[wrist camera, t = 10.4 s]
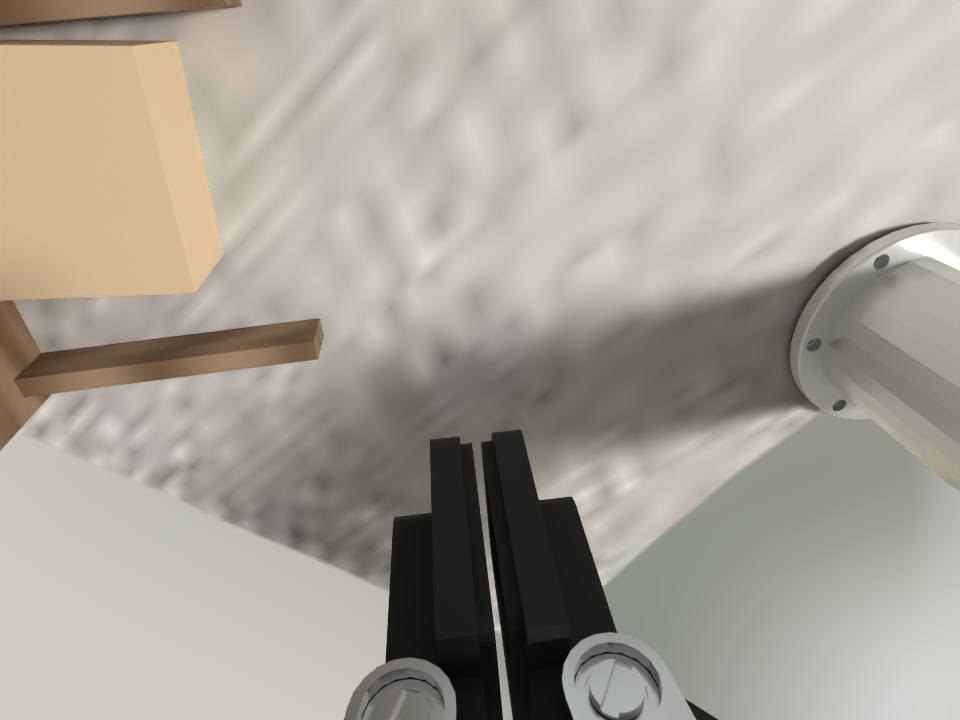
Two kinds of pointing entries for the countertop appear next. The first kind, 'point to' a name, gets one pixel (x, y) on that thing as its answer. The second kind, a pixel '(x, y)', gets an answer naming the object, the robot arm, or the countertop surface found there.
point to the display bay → (35, 376)
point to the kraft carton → (100, 172)
